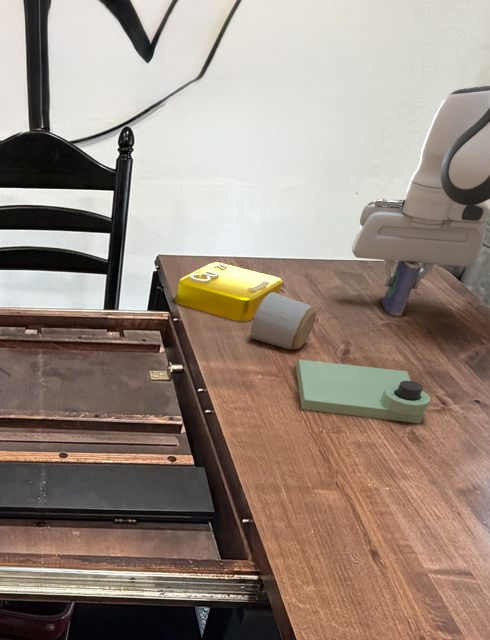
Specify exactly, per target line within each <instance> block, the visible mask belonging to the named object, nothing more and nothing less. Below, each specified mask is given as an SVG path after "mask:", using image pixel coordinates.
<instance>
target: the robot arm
mask: <svg viewBox="0 0 490 640" xmlns="http://www.w3.org/2000/svg"><path fill="white" fill-rule="evenodd" d="M488 200H490V85H483V86H482V85H481V86H473V87H466V88H460V89H456V90H454V91H452V92H450V93H449V94H448V95H447V96H446V97H445V98H444V99H443V101H441V104H440V106H439V108H438V110H437V112H436V113H435V115H434V117H433V120H432V122H431V125H430V127H429V130H428V132H427V134H426V137H425V139H424V142H423V145H422V148H421V152H420V159H419V164H418V166H417V168H416V170H415V171H414V172H413V174H412V176H411V178H410V181H409V183H408V187H407V189H406V192H405V195H404V198H403V199H384V198H376V199H375V200H372V201H370V202H369V203H367V204H366V205H365V206H364V207H363V209H362V212H361V215H360V218H359V223H360V226H359V228H358V229H357V232H356V234H355V237H354V239H353V241H352V244H351V252H352V254H353V255H354V257H355V258H357V259H366V260H367V259H369V260H378V261H379V260H380V261H382V264H383V269H384V273H385V275H384V278H383V281H382V286H383V287H388V288H389V287H392V286H393V284H394V283H393V282H394V281H395V279H396V276H395V274H394V273H391V268H393V267H394V266H395V263H396V262H399V261H402V262H414V263H416V262H417V263H418V264H421V265H420V266H421V269H420V271H419V273H418V276H417V278H416V281H415V283H414V285H413V288H412V290H417V289H418V288H419V286H420V283H421V280H423V279H424V278H425V277H426V276H428V275H429V274H430V273H431V272H432V270H433V268H434V265H438V266H451V267H462V268H468V267H470V266H472V265H473V264H475V262H476V261H477V259H478V257H479V256H480V252H481V250H482V247H483V244H484V240H485V237H486V233H487V228H486V225H485V224H484V223H485V222H486V221H487V220H488V219H489V217H490V207H489V205H488V204H486V201H488Z"/></svg>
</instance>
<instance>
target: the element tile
mask: <svg viewBox="0 0 490 640" xmlns="http://www.w3.org/2000/svg"><path fill="white" fill-rule="evenodd" d="M282 286H283V280H282V278H281V277H278V276H275V275H270V274H266V273H262V272H258V271H254V270H250V269H246V268H242V267H238V266H234V265H231V264H226V263H223V262H218V261H217V262H212V263H209V264H207V265H205V266H203V267H201V268H199V269H197V270H195V271H193V272H191V273H189V274H187V275H184V276H183V277H180V279H178V283H177V289H176V295H175V299H174V302H175V303H176V304H177V305H180V306H183V307H186V308H190V309H193V310H197V311H200V312H204V313H207V314H211V315H214V316H217V317H221V318H225V319H228V320H230V321H231V320H232V321H236V322H249V321H252V319H254V317H255V315H256V312H257V310H258V308H259V306H260V304H261V302H262V301H263V299H264V298H265V297H266V296H267V295H268V294H269V293H271V292H275V293H277V294H280V293H281V290H282Z"/></svg>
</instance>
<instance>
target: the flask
mask: <svg viewBox="0 0 490 640" xmlns="http://www.w3.org/2000/svg"><path fill="white" fill-rule="evenodd" d="M421 269H422V266H421V265H420V263H417V262H416V263H414V262H402V261H397V265H396V267H395V269H394V272H393V274H395V276H396V279H395V281H394V282H393V283H394V284H393V286H392V287H388V288H387V290H386V292H385V294H384V298H383V299H382V306H383V309H384V311H385V312H386V313H387V314H388V315H389V316H391V317H402V315H403V314H404V311H405V309H406V306H407V303H408V300H409V298H410V295H411V293H412V290H413V289H412V288H413V285H414V283H415V281H416V278H417V276H418V273H419V271H420V270H421Z"/></svg>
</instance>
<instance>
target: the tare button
mask: <svg viewBox="0 0 490 640" xmlns="http://www.w3.org/2000/svg"><path fill="white" fill-rule="evenodd" d="M422 391H424V386H423V385H422V384H421V383H419V382H416V381H413V380H411V381H402V382H400V384H399V387H398V389H397V391H396V394H395V395H396V396H397V397H399V398H401V399H404V400H409V401H416V400H418V399H419V396H420V394H421V392H422Z"/></svg>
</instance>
